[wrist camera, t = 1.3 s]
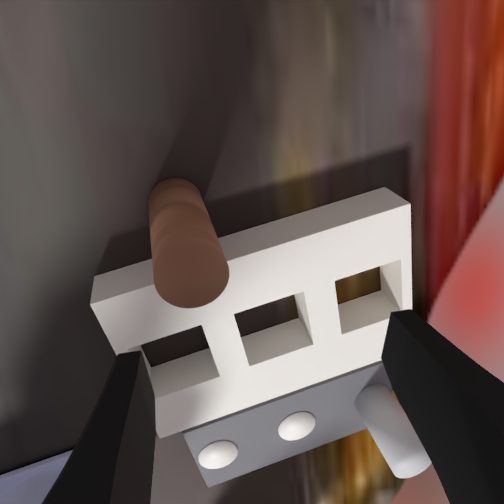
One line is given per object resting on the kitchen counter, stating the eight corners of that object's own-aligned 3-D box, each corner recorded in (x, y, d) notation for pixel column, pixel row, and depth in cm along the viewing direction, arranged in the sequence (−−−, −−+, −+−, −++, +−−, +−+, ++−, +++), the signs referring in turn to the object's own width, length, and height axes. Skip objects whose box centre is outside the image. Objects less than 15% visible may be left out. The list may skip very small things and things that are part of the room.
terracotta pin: (158, 234, 21) (167, 317, 15) (140, 186, 20) (142, 257, 14) (207, 219, 21) (236, 295, 15) (193, 171, 20) (219, 233, 14)
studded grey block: (205, 468, 30) (220, 567, 25) (180, 414, 27) (192, 515, 22) (383, 402, 32) (436, 482, 26) (378, 345, 29) (437, 422, 23)
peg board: (158, 405, 26) (160, 438, 24) (94, 276, 21) (90, 304, 19) (391, 324, 28) (412, 348, 26) (384, 186, 23) (410, 203, 21)
